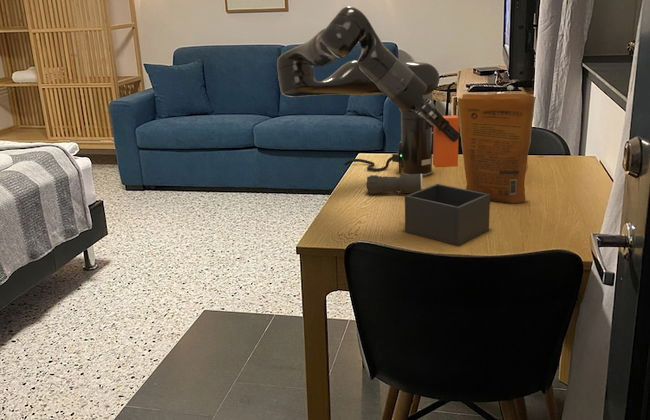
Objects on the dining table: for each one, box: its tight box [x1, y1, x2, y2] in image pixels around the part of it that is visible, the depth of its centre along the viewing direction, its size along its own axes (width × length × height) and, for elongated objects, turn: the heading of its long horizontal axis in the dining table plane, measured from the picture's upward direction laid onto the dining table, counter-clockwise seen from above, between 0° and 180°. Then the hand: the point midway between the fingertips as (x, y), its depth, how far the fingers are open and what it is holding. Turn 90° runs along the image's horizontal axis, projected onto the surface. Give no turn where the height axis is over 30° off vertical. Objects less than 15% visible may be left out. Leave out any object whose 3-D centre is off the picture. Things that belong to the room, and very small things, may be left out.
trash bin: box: [404, 183, 491, 246], centre depth 152 cm, size 15×13×9 cm
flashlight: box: [365, 174, 423, 195], centre depth 182 cm, size 15×5×5 cm, turn 83°
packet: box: [432, 114, 460, 169], centre depth 147 cm, size 5×3×11 cm, turn 93°
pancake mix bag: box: [456, 93, 536, 204], centre depth 169 cm, size 7×19×28 cm, turn 58°
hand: (455, 136), depth 147 cm, fingers closed on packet, 3 cm apart
